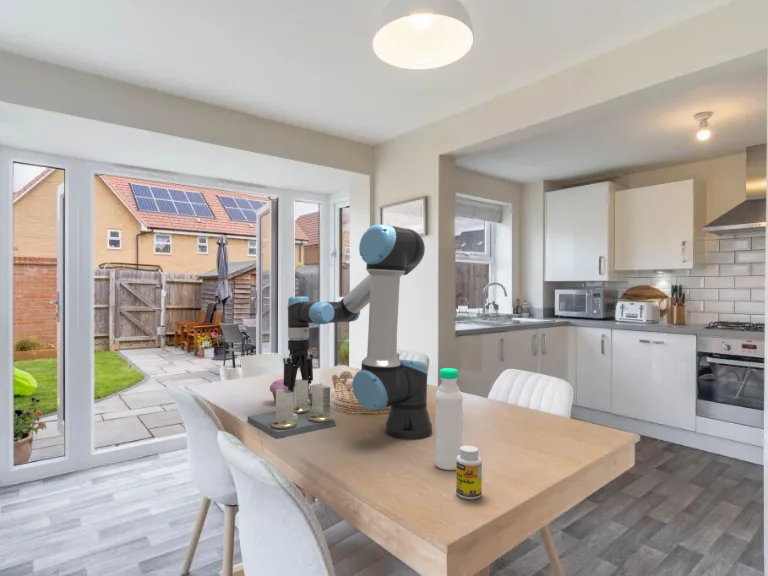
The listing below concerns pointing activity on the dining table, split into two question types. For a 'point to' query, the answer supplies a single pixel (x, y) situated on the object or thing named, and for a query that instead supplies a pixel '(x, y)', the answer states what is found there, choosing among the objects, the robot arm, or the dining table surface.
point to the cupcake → (277, 387)
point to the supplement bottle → (468, 473)
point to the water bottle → (448, 420)
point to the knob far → (301, 396)
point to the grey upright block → (320, 404)
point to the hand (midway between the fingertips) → (298, 403)
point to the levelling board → (303, 426)
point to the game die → (310, 394)
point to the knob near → (284, 410)
